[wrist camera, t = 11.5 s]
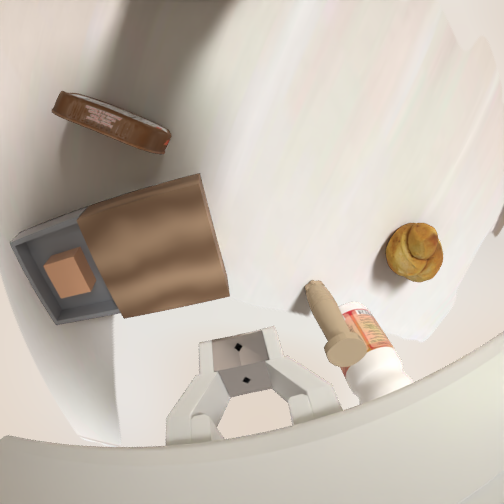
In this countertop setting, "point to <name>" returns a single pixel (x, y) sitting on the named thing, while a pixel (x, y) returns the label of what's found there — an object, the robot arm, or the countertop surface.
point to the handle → (334, 327)
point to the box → (32, 261)
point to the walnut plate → (156, 247)
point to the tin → (112, 122)
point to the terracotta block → (70, 273)
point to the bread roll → (415, 252)
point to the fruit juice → (372, 357)
